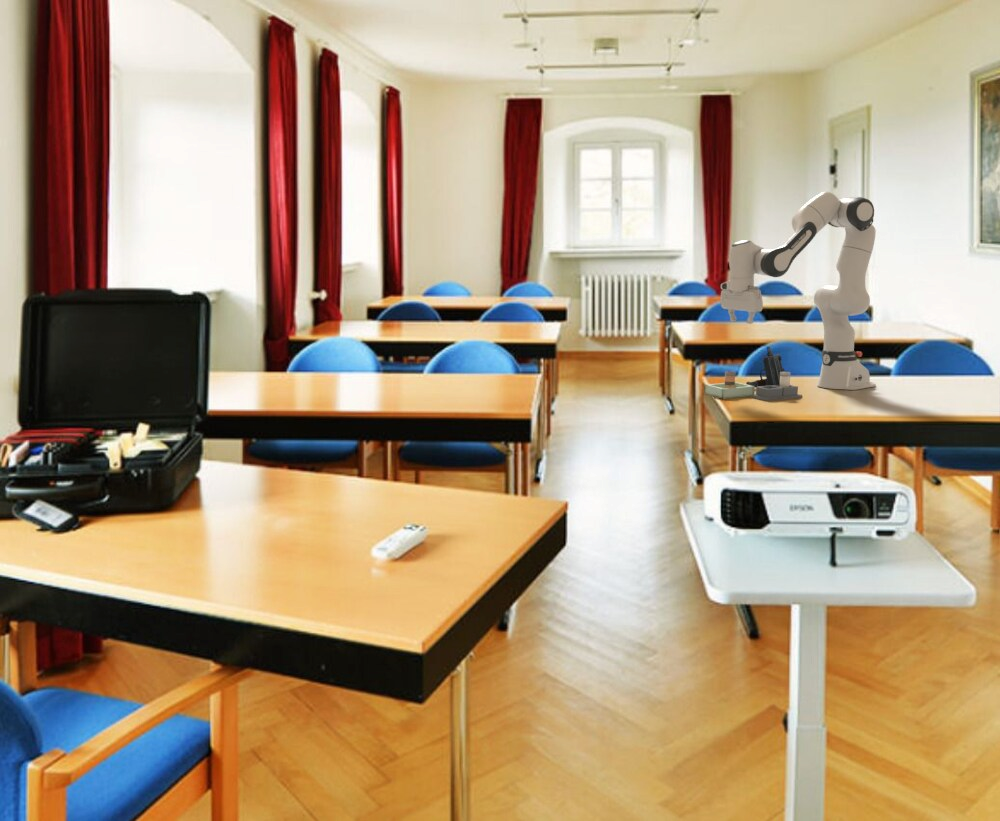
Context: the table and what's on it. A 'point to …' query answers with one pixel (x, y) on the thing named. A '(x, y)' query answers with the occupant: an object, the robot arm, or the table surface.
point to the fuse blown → (729, 379)
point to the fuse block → (776, 393)
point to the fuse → (784, 379)
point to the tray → (729, 390)
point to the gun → (770, 370)
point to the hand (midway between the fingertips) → (741, 322)
